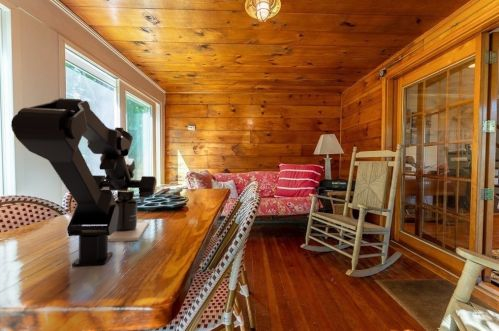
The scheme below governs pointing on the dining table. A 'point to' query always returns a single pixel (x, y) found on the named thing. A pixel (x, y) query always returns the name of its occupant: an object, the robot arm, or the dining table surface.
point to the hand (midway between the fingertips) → (128, 201)
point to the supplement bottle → (126, 211)
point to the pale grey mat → (129, 233)
